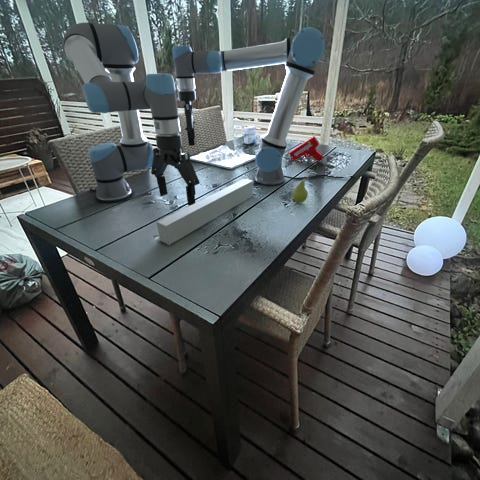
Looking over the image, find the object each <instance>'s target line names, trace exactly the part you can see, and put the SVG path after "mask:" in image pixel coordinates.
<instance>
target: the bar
mask: <svg viewBox="0 0 480 480" xmlns="http://www.w3.org/2000/svg"><path fill="white" fill-rule="evenodd" d="M253 196H254V180H252V179H249V178H243V179H241V180H238V181H236V182H235V183H233V184H231V185H229V186H226V187H224V188H223V189H220V190H219V191H216V192H215V193H212V194H210V195H208V196H206V197H205V198H202V199H200V200H198V201H195V204H193V205H191V206H188V205H187V206H186V207H184V208H182V209H180V210H178V211H176V212H174V213H172V214H169V215H168V216H165V217H164V218H162V219H160V220H158V221H156V227H157V231H158V235H159V236H158V237H159V241H160V242H162V243H164V244H166V245H168V246H171V245H172V244H174V243H175V242H177V241H179V240H180V239H183V237H185V236H188V235H189V234H191V233H192V232H194V231H196V230H197V229H199V228H201V227H203V226H205V225H207V223H210V221H213V220H214V219H216V218H218V217H220V216H221V215H223V214H225V213H226V212H228V211H230V210H231V209H233V208H235V207H236V206H238V205H240V204H241V203H243V202H245V201H247V200H248V199H250V198H252V197H253Z"/></svg>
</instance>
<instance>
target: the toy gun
mask: <svg viewBox="0 0 480 480" xmlns="http://www.w3.org/2000/svg"><path fill="white" fill-rule="evenodd" d="M319 144H320V141H319V140H318V138H317V137H316V136H315V135H313V136H312V137H310V138H309V139H307V140H306V141H304V142H302V143H301V144H300V145H298V146H296V147H294V148H293V149H292V150H291V151H289V153H288V155H289V156H290V158H291V160H292V161H294V162H295V161H296V160H295V159H297V160H298V159H300V158H302V157H303V156H304V158H305V159H308V158H309V157H312V158H313V159H314V160H315V161H316V163H319V162H321V161H323V158H324V154H323V153H321V152H320V151H319V150H318V149H317V147H319ZM317 160H319V162H318V161H317ZM320 160H321V161H320Z"/></svg>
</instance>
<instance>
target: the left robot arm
mask: <svg viewBox="0 0 480 480" xmlns="http://www.w3.org/2000/svg"><path fill="white" fill-rule="evenodd" d="M133 35H134V34H133V33H132V31H131V30H130V28H129V27H127V26H126V25H122V24H117V23H99V22H98V23H96V22H95V23H94V22H79V23H76V24H73V25H71V26H70V27H69V28H68V29H67V31H66V32H65V33H64V35H63V39H62V48H63V52H64V54H65V56H66V58H67V59H68V60H69V62H70V63H71V64H73V65H74V66H75V68H76V70H77V71H78V74H79V75H80V77H81V79H82V81H83V84H82V86H81V88H82V93H83V98H84V101H85V104H86V106H87V109H88V111H89V112H90V113H93V114H109V113H117V117H118V122H119V126H120V131H121V136H122V137H121V139H120V140H119V144H120V145H117V144H116V143H114V142H104V143H99V144H97V145H94V146H92V147H90V148H89V149H88V152H87V154H88V158H89V162H90V164H91V168H92V171H93V175H94V179H95V181H96V189H93V188H89V189H88V190H89V191H92V192H96V193H95V196H96V199H97V201H98V202H101V203H106V204H107V203H117V202H122V201H125V200H128V199H129V198H130V197H131V196H132V195H133V193H132V189H131V187H130V185H129V183H128V182H127V181H126V178H125V177H124V173H128V172H133V171H141V170H145V169H149V168H151V169H150V173H151V175H154V177H155V178H156V181H157V186H158V190H159V196H160V197H164V196H166V195H169V194H168V187H167V181H166V176H165V171H166V169H167V167H168V166H171V167H174V169H175V170H177V171H178V173H179V175H180V176H181V178H182V179H183V181H184V182H185V184H186V186H185V193H186V201H187V207H188V206H191V205H193V204H195V203H196V195H197V194H196V186H197V185H200V180H199V177H198V175H197V172H196V170H195V168H194V166H193V163H192V160H190V157H191V156H190V153H189V152H183V153H182V151H181V149H182V147H183V141H182V140H183V139H182V135H181V126H180V125H181V124H180V117H179V108H178V99H177V86H176V84H175V77H174V76H173V75H172V74H171V73H147V74H146V75H145V79H144V80H140V81H137V80H136V81H135V80H134V75H133V73H134V71H135V70H136V65H135V64H137V63H138V62H139V59H140V58H139V51H138V46H137V43H136V40H135V37H134V36H133ZM141 110H142V111H143V110H144V111H145V110H150V113H151V119H152V124H153V129H154V134H155V137H154V139H155V143H156V147H154V148H153V144H152V143H151V142H150V141H148V138H147V137H146V136H145V135H144V134H143V129H142V128H143V127H142V122H141V116H140V111H141Z"/></svg>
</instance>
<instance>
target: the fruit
mask: <svg viewBox="0 0 480 480" xmlns="http://www.w3.org/2000/svg"><path fill="white" fill-rule="evenodd" d="M310 176H311V175H310V174H309V175H307V176H306V177H307V178H305V179H301V181H300V182H298V184H297V185H296V186H295V187H294V188H293V190H292V191H291V198H292V200H293V201H294V202H295V203H297V204H301V203H304V202H305V201H306V200H307V198H308V196H309V195H308V190H307V189H306V184H305V183H306V180H308V179H310V178H309V177H310Z"/></svg>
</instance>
